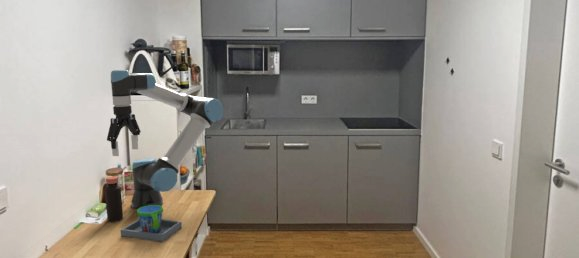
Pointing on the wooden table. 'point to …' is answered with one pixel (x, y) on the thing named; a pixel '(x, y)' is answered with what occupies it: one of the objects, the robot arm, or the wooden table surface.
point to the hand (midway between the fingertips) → (125, 152)
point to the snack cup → (150, 218)
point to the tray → (136, 232)
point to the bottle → (113, 200)
